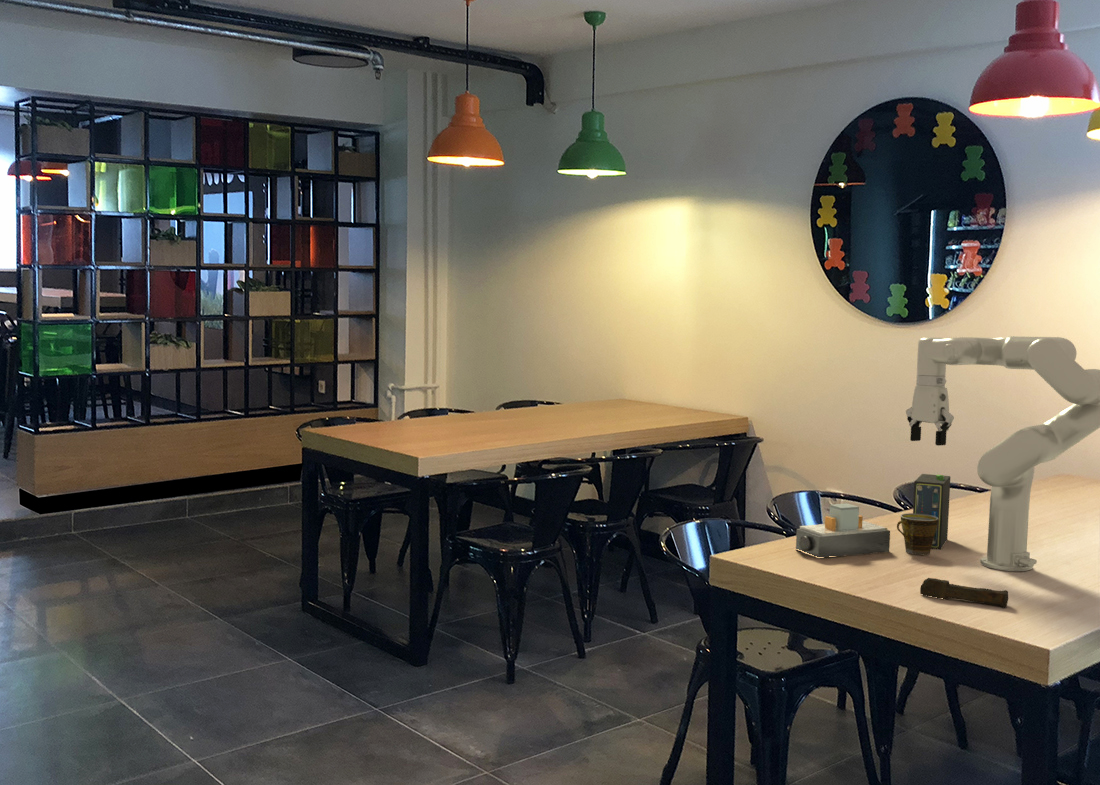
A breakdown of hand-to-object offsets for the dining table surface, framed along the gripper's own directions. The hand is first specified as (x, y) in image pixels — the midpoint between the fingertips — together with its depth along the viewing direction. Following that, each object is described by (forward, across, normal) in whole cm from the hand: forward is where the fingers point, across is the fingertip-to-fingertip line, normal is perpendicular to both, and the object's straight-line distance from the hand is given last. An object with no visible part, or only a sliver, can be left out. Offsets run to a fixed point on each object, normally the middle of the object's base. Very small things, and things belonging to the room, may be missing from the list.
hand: (927, 442), depth 287 cm
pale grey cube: (+24, +6, +23) cm, 33 cm away
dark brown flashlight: (+31, -44, +28) cm, 60 cm away
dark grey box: (+31, +6, -8) cm, 32 cm away
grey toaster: (+30, +6, +23) cm, 39 cm away
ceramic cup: (+31, -2, +5) cm, 31 cm away
